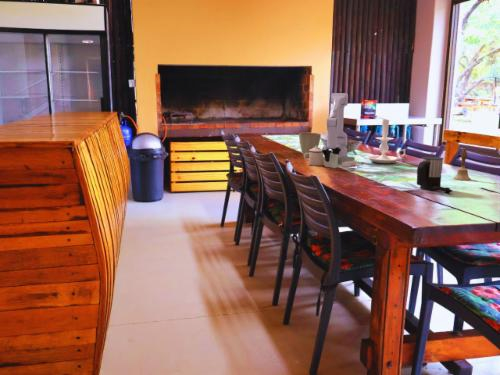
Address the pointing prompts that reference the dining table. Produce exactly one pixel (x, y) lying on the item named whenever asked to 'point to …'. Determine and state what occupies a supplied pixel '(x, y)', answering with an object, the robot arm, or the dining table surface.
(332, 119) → the robot arm
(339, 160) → the dish rack
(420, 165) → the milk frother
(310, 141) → the plant pot
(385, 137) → the candlestick
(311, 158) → the teacup with lid
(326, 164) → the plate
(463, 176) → the hand bell
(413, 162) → the dining table surface
